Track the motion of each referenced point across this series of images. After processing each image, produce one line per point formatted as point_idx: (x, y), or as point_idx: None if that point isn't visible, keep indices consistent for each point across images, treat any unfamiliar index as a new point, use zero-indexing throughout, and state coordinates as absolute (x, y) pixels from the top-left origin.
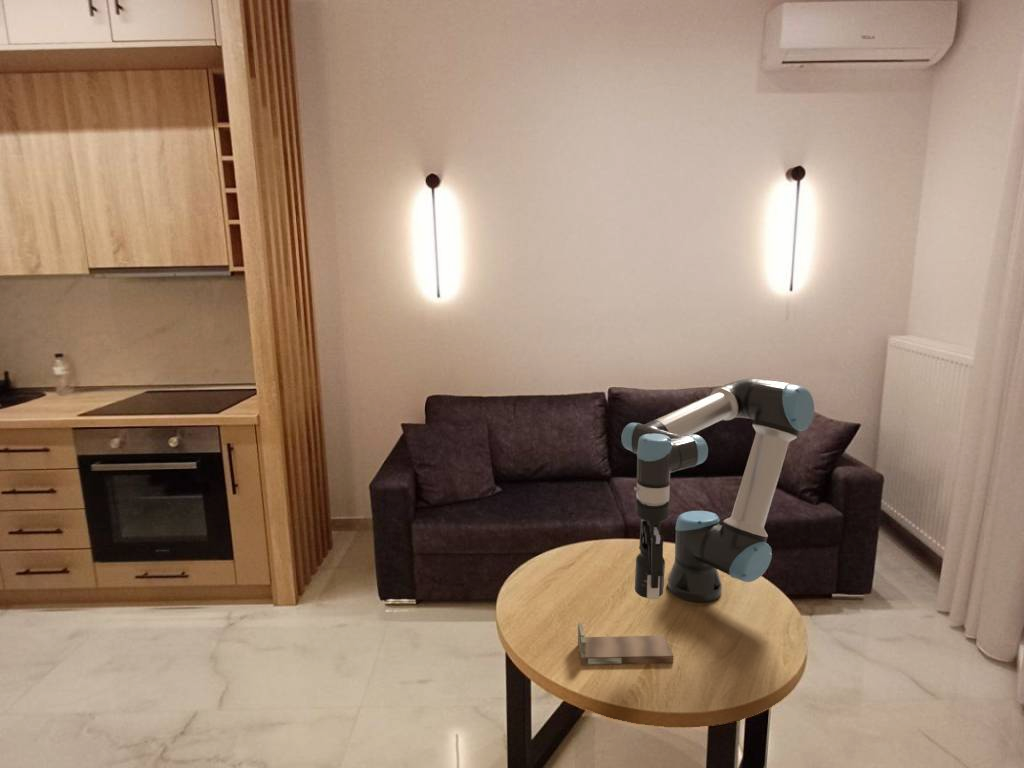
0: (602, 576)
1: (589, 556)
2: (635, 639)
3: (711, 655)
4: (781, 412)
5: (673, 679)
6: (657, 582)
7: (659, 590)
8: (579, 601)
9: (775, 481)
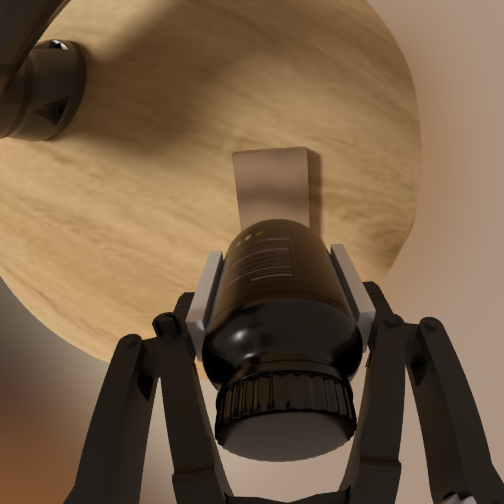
0: (49, 253)
1: (16, 267)
2: (251, 219)
3: (272, 63)
4: None
5: (352, 158)
6: (384, 300)
7: (327, 251)
8: (127, 295)
9: None
